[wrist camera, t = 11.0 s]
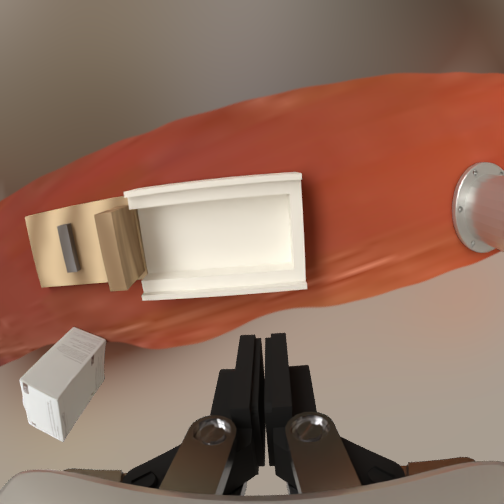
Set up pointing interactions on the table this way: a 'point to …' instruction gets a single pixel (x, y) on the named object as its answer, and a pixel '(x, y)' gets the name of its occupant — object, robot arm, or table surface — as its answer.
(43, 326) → the table surface
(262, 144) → the table surface
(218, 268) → the box
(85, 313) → the table surface
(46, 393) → the skincare box
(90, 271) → the lid
